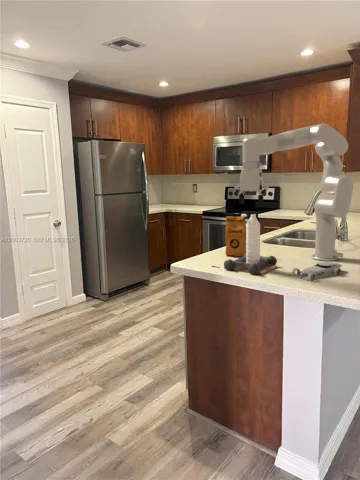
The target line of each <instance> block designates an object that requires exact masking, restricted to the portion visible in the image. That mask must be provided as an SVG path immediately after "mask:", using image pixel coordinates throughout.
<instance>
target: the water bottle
mask: <svg viewBox="0 0 360 480" xmlns="http://www.w3.org/2000/svg"><path fill="white" fill-rule="evenodd" d="M241 216H243V217H244V216H245V217H247V216H248V215H247V214H246V213H241V215H240V217H241ZM260 253H261V223H260V222H259V220H258V218H257V215H256V213H252V214H250V217H249V219H248V221H246V263H250V264H252V263H257V262H260V258H261V254H260Z"/></svg>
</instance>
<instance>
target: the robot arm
mask: <svg viewBox="0 0 360 480" xmlns="http://www.w3.org/2000/svg"><path fill="white" fill-rule="evenodd" d="M310 145H315V146H314V147H315V152H316V154H317V155H318V157H319V158H320V159H321V161H322V163H323V169H322V176H321V183H320V190H321V192H322V193H323V194H325V195H333V196H334V197H333V196H331V197H329V196H324V197H320V198H318V199H317V200H316V201H315V203H314V213H315V214H314V215H315V243H314V244H315V245H314V253H313V254H312V255H311V258H312V259H314V260H317V261H324V262H331V261H337V260H338V258H343V257H344V253H342V252H338V251H337V250H338V249H336V237H337V236H336V234H337V222H336V218H338V219H340V218H344V217H346V216H347V214H348V213H349V211H350V207H351V202H352V197H353V191H354V183H353V182H354V181H353V180H352V178H351V177H350V176H348V175H343V174H342V170H343V163H342V160H341V157H340V156H342V155H344V154H346V153H347V151H348V149H349V142H348V141H347V139H346V137H344V136H343V135H342V134H341V133H340V132H338V131H337V130H336V129H335V128H333V127H332V126H330V125H329V124H326V123H319V124H313V125H309V126H305V127H301V128H296V129H292V130H287V131H284V132H281V133H277V134H274V135H269V136H265V137H259V138H257V137H247V138H243V140H242V169H241V171H240V175H239V182H238V183H237V184H235V185H234V187H233V188H234V190H235V192H236V193H237V195H238V201H239V204H240V205H242V204H245V193H246V192H257V193H258V196H257V203H258V205H263V204H264V196H265V194H266V193H267V192H268V190H269V187H270V185H269V184H267V183H265V182H264V177H263V171H262V168H261V167H263V163H262V162H260V156H264V155H266V156H267V155H271V154H274V153H275V152H279V151H289V150H294V149H297V148H301V147H306V146H310Z"/></svg>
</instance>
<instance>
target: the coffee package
mask: <svg viewBox="0 0 360 480" xmlns="http://www.w3.org/2000/svg"><path fill="white" fill-rule="evenodd" d="M246 224H247V221H246V216H244V217H243V216H241V215H240V216H229V215H228V216H226V217H225V229H224V230H225V232H224V233H225V236H224V237H225V256H226V255H227V256H232V257H242V256H243V254H245V253H246Z"/></svg>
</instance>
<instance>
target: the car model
mask: <svg viewBox="0 0 360 480" xmlns="http://www.w3.org/2000/svg"><path fill="white" fill-rule="evenodd" d="M342 266H343V265H342V264H340V263H336V262H331V261H324V262H321V261H320V262H317V263H316V264H315V265H312V266H309V267H307V268H305V269H303V270H302V271H301V270H300V269H299V268H297V267H295V268H293V269H292V271H291V274H292V276H293V277H294V278H296V279H301V280H303V281H310V282H312V281H316V280H318V278H319V279H323V278H326V277H327V276H328V277H335V276H334V275H338V276H341V274H344V273H343V272H344V271H343V270H342V269H341V268H342ZM296 272H297V273H296ZM322 277H323V278H322ZM328 277H327V278H328Z"/></svg>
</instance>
